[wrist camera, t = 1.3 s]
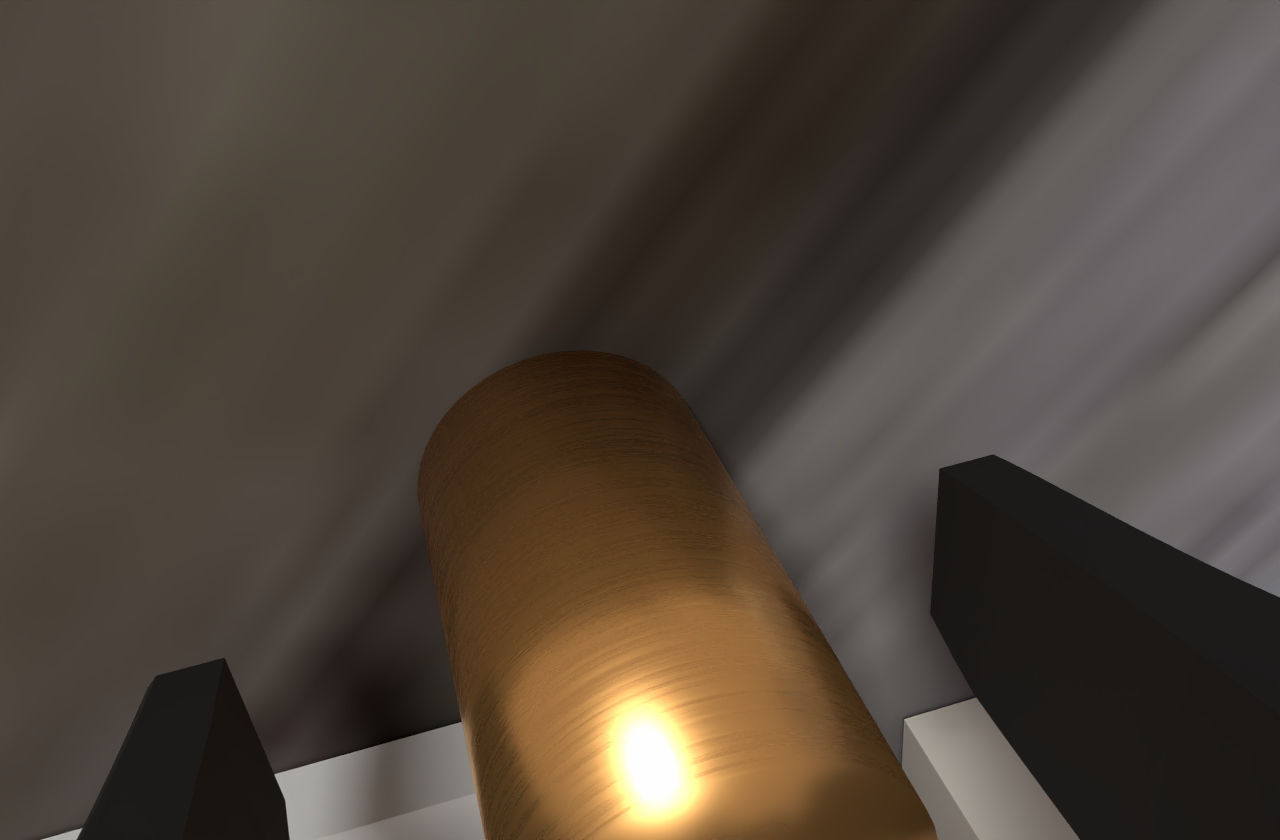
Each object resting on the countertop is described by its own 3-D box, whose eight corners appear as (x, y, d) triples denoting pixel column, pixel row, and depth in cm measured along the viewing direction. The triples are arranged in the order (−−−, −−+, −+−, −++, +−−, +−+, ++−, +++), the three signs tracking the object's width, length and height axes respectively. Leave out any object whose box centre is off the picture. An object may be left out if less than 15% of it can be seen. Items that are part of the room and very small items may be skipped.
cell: (689, 322, 13) (980, 755, 8) (708, 550, 15) (950, 1019, 10) (388, 390, 12) (485, 908, 7) (448, 619, 14) (558, 1157, 9)
